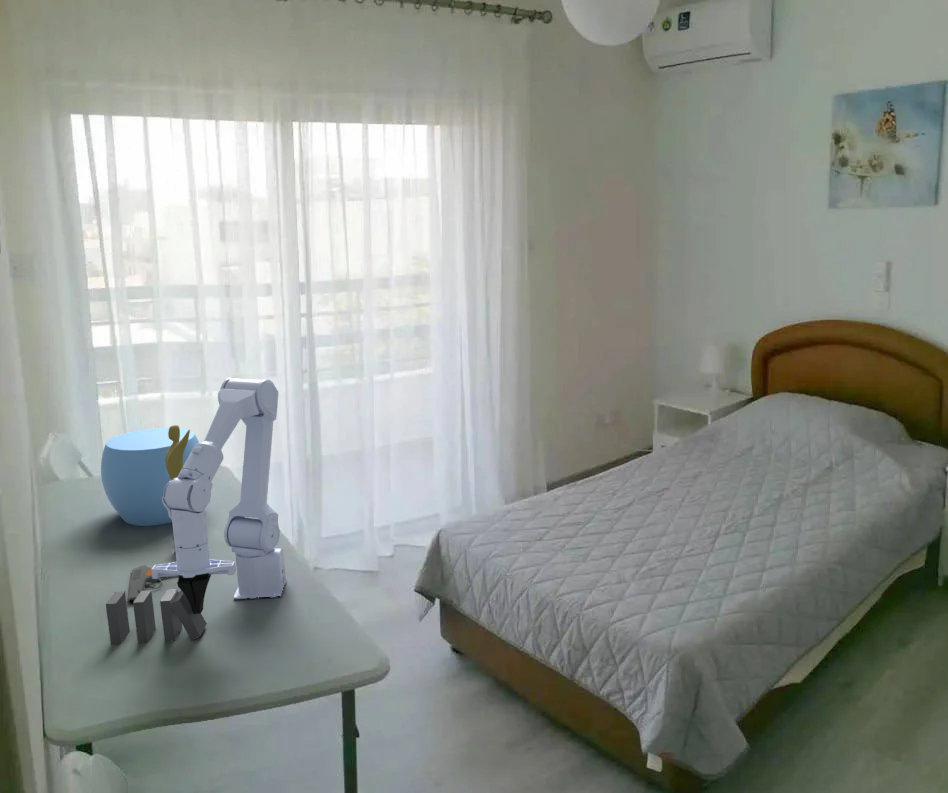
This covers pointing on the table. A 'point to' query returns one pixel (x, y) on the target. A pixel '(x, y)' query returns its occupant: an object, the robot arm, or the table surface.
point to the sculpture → (175, 452)
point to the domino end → (117, 617)
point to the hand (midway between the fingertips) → (198, 611)
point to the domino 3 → (188, 616)
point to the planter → (140, 474)
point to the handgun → (141, 582)
